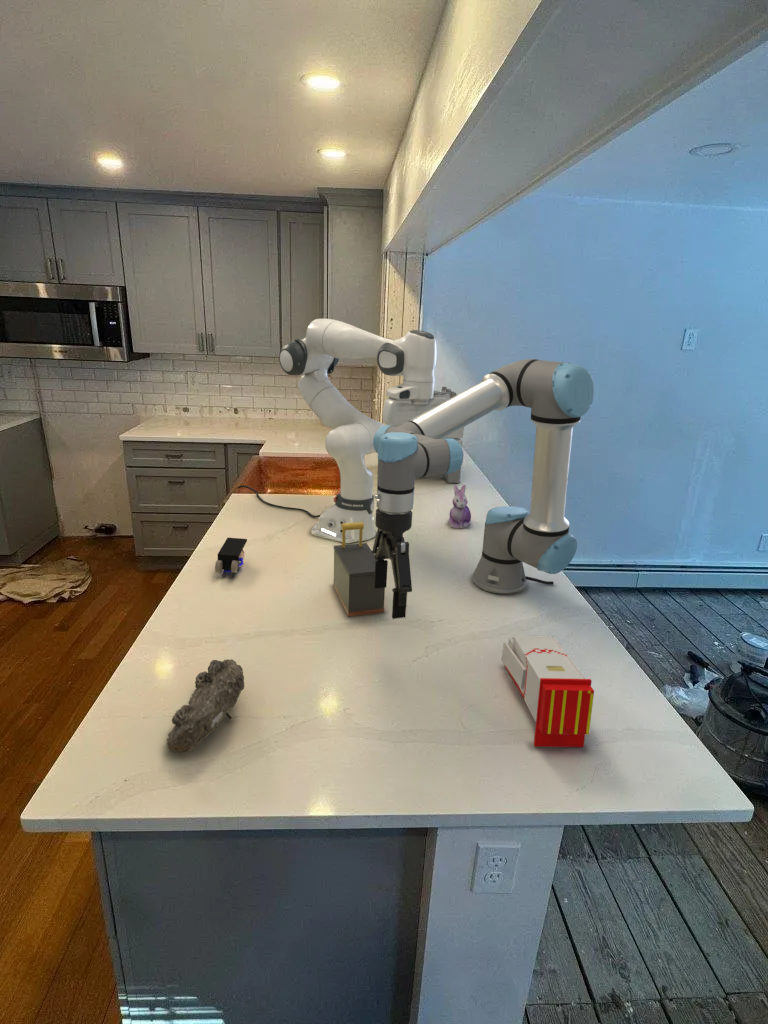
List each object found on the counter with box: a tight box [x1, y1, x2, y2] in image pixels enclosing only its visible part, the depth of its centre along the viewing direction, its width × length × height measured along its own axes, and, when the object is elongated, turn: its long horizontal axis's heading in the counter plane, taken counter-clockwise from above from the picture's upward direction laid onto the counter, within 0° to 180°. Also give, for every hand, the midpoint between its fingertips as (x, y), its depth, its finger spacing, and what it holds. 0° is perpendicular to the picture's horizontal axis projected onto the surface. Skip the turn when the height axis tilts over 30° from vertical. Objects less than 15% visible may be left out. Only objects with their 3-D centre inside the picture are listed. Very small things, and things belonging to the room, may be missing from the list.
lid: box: [333, 522, 376, 577], centre depth 150 cm, size 18×10×8 cm, turn 17°
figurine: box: [448, 484, 472, 529], centre depth 208 cm, size 9×10×15 cm
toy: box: [501, 635, 595, 748], centre depth 115 cm, size 12×13×30 cm
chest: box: [333, 549, 386, 617], centre depth 153 cm, size 18×10×11 cm, turn 17°
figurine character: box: [214, 537, 248, 578], centre depth 166 cm, size 7×8×15 cm
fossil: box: [166, 658, 245, 754], centre depth 106 cm, size 22×10×15 cm
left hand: (415, 439), depth 165 cm, fingers open, 8 cm apart
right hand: (388, 601), depth 123 cm, fingers open, 13 cm apart
